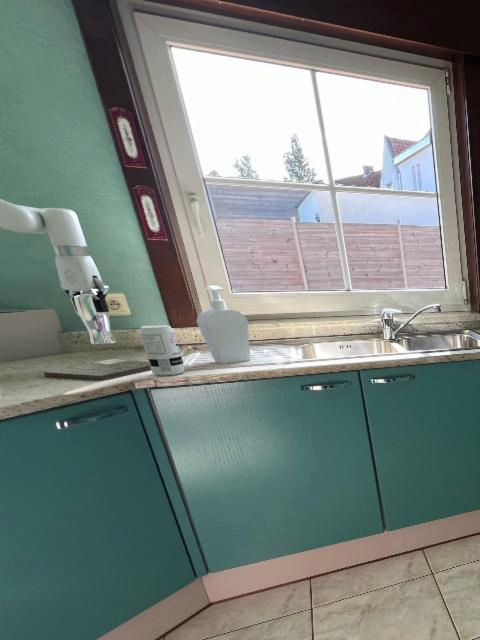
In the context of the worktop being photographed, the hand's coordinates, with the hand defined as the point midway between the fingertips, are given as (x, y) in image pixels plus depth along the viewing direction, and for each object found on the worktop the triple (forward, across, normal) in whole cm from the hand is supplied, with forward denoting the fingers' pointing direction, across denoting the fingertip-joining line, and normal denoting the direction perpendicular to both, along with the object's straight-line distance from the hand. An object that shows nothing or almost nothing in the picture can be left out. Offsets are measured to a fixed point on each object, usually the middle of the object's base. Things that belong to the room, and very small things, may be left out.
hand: (92, 311), depth 158 cm
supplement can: (+18, +27, -5) cm, 33 cm away
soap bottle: (+18, +29, +17) cm, 38 cm away
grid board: (+18, +7, -7) cm, 20 cm away
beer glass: (+10, 0, 0) cm, 10 cm away
